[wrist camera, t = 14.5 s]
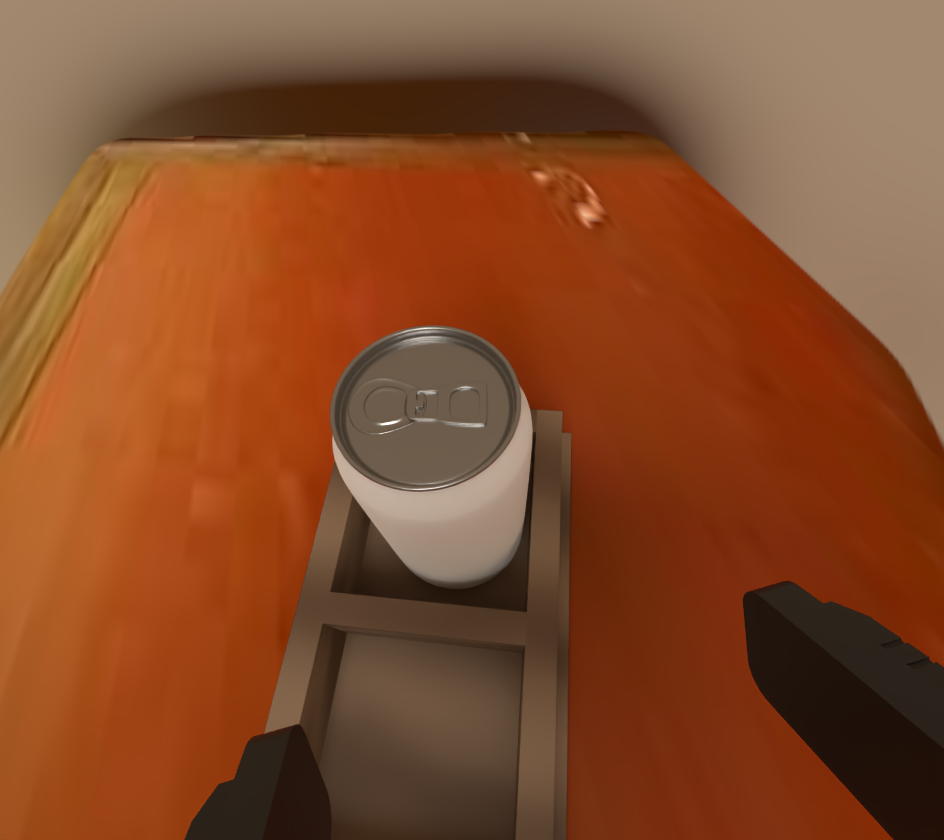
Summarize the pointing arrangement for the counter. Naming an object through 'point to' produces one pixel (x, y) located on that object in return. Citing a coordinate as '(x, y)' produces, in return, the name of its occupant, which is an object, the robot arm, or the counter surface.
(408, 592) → the tray
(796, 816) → the counter surface
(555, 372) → the counter surface
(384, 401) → the can
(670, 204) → the counter surface
